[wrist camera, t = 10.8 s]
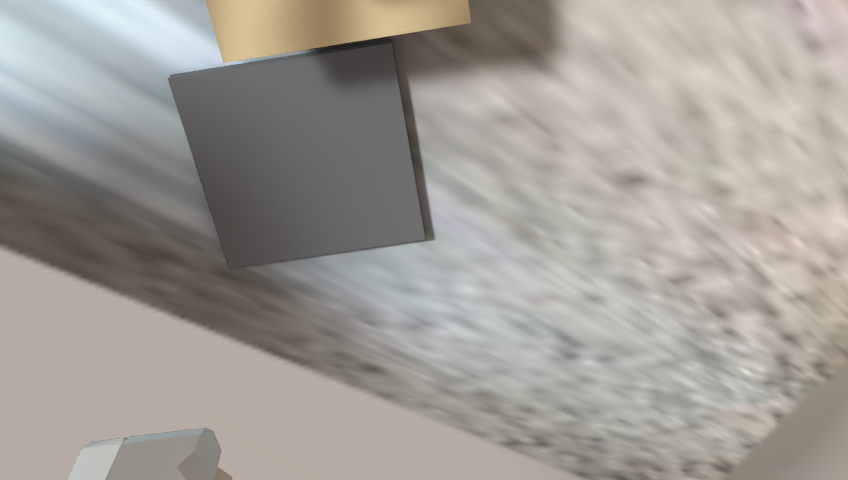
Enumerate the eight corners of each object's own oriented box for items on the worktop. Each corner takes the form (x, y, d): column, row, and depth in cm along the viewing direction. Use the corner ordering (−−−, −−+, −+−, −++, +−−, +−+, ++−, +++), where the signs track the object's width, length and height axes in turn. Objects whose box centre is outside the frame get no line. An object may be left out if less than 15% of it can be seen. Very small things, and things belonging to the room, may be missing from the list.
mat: (231, 263, 45) (229, 268, 44) (170, 75, 39) (167, 78, 39) (425, 234, 44) (425, 239, 44) (391, 39, 39) (391, 43, 38)
